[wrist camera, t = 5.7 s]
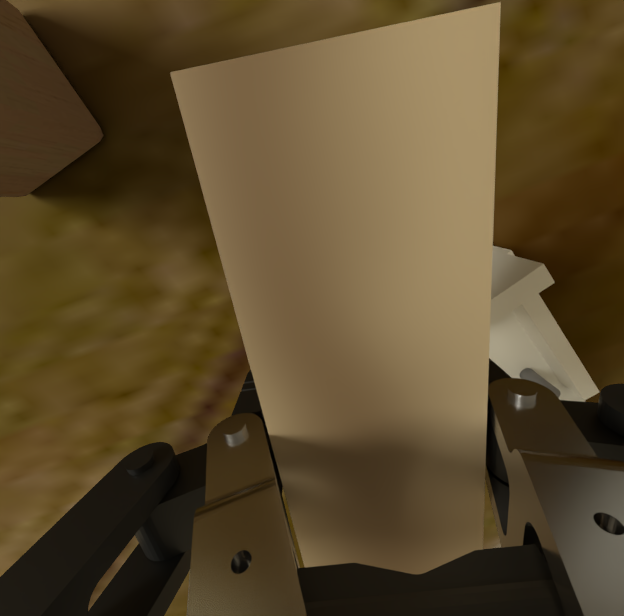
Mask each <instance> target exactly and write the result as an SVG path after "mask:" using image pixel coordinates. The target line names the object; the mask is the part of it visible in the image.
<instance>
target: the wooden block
mask: <svg viewBox="0 0 624 616" xmlns="http://www.w3.org/2000/svg"><path fill="white" fill-rule="evenodd" d="M102 137H103V133H102V130H101V128H100V126H99V125H98V123H97V122H96V120H95V119H94V118H93V116H92V115H91V113H90V112H89V110H88V109H87V108H86V106H85V105H84V103H83V102H82V100H81V99H80V97H79V96H78V95H77V93H76V92H75V90H74V89H73V87H72V86H71V85H70V83H69V82H68V80H67V79H66V77H65V76H64V74H63V73H62V72H61V70H60V69H59V67H58V66H57V64H56V63H55V62H54V60H53V59H52V57H51V56H50V54H49V53H48V51H47V50H46V49H45V47H44V46H43V44H42V43H41V41H40V40H39V39H38V37H37V36H36V34H35V33H34V31H33V30H32V28H31V27H30V26H29V24H28V23H27V21H26V20H25V18H24V17H23V16H22V14H21V13H20V12H19V10H18V9H17V8H15V7H14V6H13V5H12V4H10V3H9V2H8V1H6V0H0V197H19V196H26V195H28V194H29V193H31V192H32V191H33V190H35V189H36V188H38V187H39V186H40V185H42V184H43V183H44V182H46V181H47V180H48V179H50V178H51V177H52V176H54V175H55V174H57V173H58V172H59V171H61V170H62V169H63V168H65V167H66V166H67V165H69V164H70V163H71V162H73V161H74V160H76V159H77V158H78V157H80V156H81V155H82V154H84V153H85V152H86V151H88V150H89V149H91V148H92V147H93V146H95V145H96V144H97V143H99V142H100V141H101V139H102Z"/></svg>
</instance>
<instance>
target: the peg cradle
mask: <svg viewBox="0 0 624 616" xmlns="http://www.w3.org/2000/svg"><path fill="white" fill-rule="evenodd" d="M553 283H555V282H554V280H553V278H552V277H551V275H550V273H549V272H548V270H547V268H546V267H545V265H544V264H543V263H539V262H535V261H532V260H528V259H524V258H520V257H517V256H515V255H514V253H513V252H512V250H509V249H504V248H500V247H496V246H493V251H492V282H491V312H490V343H489V358H490V359H491V360H492V361H493V362H494V363H496V364H497V365H498V366H499V367H500V368H501V369H502V370H504V371H505V372H506V373H507V374H508V375H509V376H510V377H511V378H520V379H526V380H530V381H533V382H536V383H539V384H541V385H543V386H545V387H547V388H548V389H550V390H551V391H553V392H554V393H555V394H556V396H557V397H558V398H559V400H566V401H580V402H586V401H585V400H587V399H588V398H590V397H592V396H594V395H596V394H597V393H599V390H598V388H597V387H596V385H595V384H594V382H593V380H592V379H591V377H590V375H589V374H588V372H587V371H586V369H585V367H584V366H583V364H582V363H581V361H580V359H579V358H578V356H577V355H576V353H575V351H574V350H573V348H572V347H571V345H570V343H569V342H568V340H567V339H566V337H565V335H564V334H563V332H562V331H561V329H560V327H559V326H558V324H557V322H556V321H555V319H554V318H553V316H552V314H551V313H550V311H549V310H548V308H547V306H546V305H545V303H544V302H543V300H542V298H541V297H540V295H539V294H538V293H540V292H541V291H543V290H544V289H546V288H547V287H549V286H550V285H552V284H553Z"/></svg>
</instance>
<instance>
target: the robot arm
mask: <svg viewBox="0 0 624 616" xmlns="http://www.w3.org/2000/svg"><path fill="white" fill-rule="evenodd" d="M485 480H486V484H487V488H488V493H489V497H490V501H491V505H492V509H493V514H494V518H495V522H496V526H497V531H498V535H499V539H500V543H501V548H492V549H483V550H474V551H472V552H470V553H468V554H465V555H463V556H461V557H459V558H457V559H454V560H452V561H450V562H448V563H446V564H443V565H441V566H439V567H437V568H435V569H432V570H430V571H428V572H426V573H423V574H410V573H405V572H400V571H395V570H390V569H384V568H379V567H374V566H369V565H364V564H359V563H345V564H335V565H325V566H315V567H306V568H300V567H299V563H298V558H297V554H296V550H295V546H294V542H293V538H292V534H291V530H290V526H289V522H288V518H287V513H286V509H285V505H284V501H283V497H282V488H283V485H282V482H281V478H280V474H279V471H278V467H277V463H276V460H275V456H274V452H273V449H272V445H271V441H270V438H269V434H268V430H267V427H266V423H265V419H264V416H263V412H262V408H261V405H260V401H259V397H258V394H257V390H256V386H255V383H254V379H253V375H252V372H251V370H250V371H249V372H248V374H247V377H246V379H245V384H243V387H242V392H240V395H239V397H238V400H237V403H236V405H235V408H234V410H233V413H232V416H230V417H228V418H226V419H224V420H223V421H221V422H220V423H218V424H217V425H216V426H215V427H214V428H213V429H212V431H211V432H210V434H209V436H208V439H207V443H206V444H204V445H202V446H200V447H197V448H194V449H192V450H189V451H186V452H183V453H181V454H178V455H175V453H174V450H173V448H172V446H171V445H170V444H168V443H164V442H157V443H152V444H148V445H145V446H143V447H141V448H139V449H137V450H135V451H133V452H132V453H130V454H129V455H127V456H126V457H125V458H123V459H122V460H121V461H120V462H119V463H118V464H117V465H116V466H115V467H114V468H113V469H112V470H111V471H110V472H109V473H108V474H107V475H106V476H104V477H103V478H102V479H101V480H100V481H99V482H98V483H97V484H96V485H95V486H94V487H93V488H92V489H91V490H90V491H89V492H88V493H87V494H86V495H85V496H84V497H83V498H82V499H81V500H80V501H79V502H78V503H77V504H75V505H74V506H73V507H72V508H71V509H70V510H69V511H68V512H67V513H66V514H65V515H64V516H63V517H62V518H61V519H60V520H59V521H58V522H57V523H56V524H55V525H54V526H53V527H52V528H51V529H50V530H49V531H48V532H46V533H45V534H44V535H43V536H42V537H41V538H40V539H39V540H38V541H37V542H36V543H35V544H34V545H33V546H32V547H31V548H30V549H29V550H28V551H27V552H26V553H25V554H24V555H23V556H22V557H21V558H20V559H19V560H17V561H16V562H15V563H14V564H13V565H12V566H11V567H10V568H9V569H8V570H7V571H6V572H5V573H4V574H3V575H2V576H1V577H0V616H164V615H165V613H166V611H167V609H168V608H169V606H170V604H171V602H172V600H173V599H174V597H175V595H176V593H177V591H178V590H179V588H180V586H181V584H182V583H183V581H184V579H185V577H186V575H187V574H188V572H189V570H190V579H189V593H188V607H187V616H624V384H613V385H609V386H606V387H604V388H603V389H602V390H601V393H600V398H599V403H594V402H580V401H566V400H559V398H558V397H557V396H556V394H555V393H554V392H553V391H551V390H550V389H548V388H547V387H545V386H543V385H541V384H539V383H536V382H533V381H530V380H526V379H520V378H511V377H510V376H509V375H508V374H507V373H506V372H505V371H504V370H502V369H501V368H500V367H499V366H498V365H497V364H496V363H494V362H493V361H492V360H491V359H490V358H489V373H488V404H487V435H486V465H485ZM134 535H135V536H136V538H137V540H138V542H139V544H138V545H137V547H136V548H135V549H134V551H133V552H132V553H131V555H130V556H129V557H128V559H127V560H126V562H125V563H124V564H123V566H122V567H121V568H120V570H119V571H118V572H117V574H116V575H115V576H114V578H113V579H112V580H111V582H110V583H109V584H108V586H107V587H106V588H105V590H104V591H103V592H102V594H101V595H100V596H99V598H98V599H97V601H96V602H95V603H94V605H93V606H92V607H91V609H90V610H89V611H88V605H89V601H90V597H91V595H92V592H93V590H94V588H95V587H96V585H97V583H98V582H99V580H100V579H101V578H102V576H103V575H104V574H105V572H106V571H107V570H108V569H109V567H110V566H111V565H112V563H113V562H114V561H115V560H116V558H117V557H118V556H119V554H120V553H121V552H122V550H123V549H124V548H125V547H126V545H127V544H128V543H129V541H130V540H131V539H132V538H133V536H134Z"/></svg>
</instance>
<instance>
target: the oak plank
mask: <svg viewBox="0 0 624 616" xmlns="http://www.w3.org/2000/svg"><path fill="white" fill-rule="evenodd" d="M500 7H501V2H499V3H494V4H489V5H484V6H480V7H475V8H470V9H466V10H461V11H456V12H451V13H447V14H442V15H437V16H433V17H428V18H423V19H419V20H414V21H409V22H404V23H400V24H395V25H390V26H386V27H381V28H376V29H371V30H367V31H362V32H357V33H353V34H348V35H343V36H339V37H334V38H329V39H324V40H320V41H315V42H310V43H306V44H301V45H296V46H291V47H287V48H282V49H277V50H273V51H268V52H263V53H258V54H254V55H249V56H244V57H240V58H235V59H230V60H226V61H221V62H216V63H211V64H207V65H202V66H197V67H193V68H188V69H183V70H178V71H174V72H170V75H171V78H172V82H173V86H174V89H175V93H176V97H177V100H178V104H179V108H180V111H181V115H182V119H183V122H184V126H185V130H186V133H187V137H188V141H189V144H190V148H191V152H192V155H193V159H194V163H195V166H196V170H197V174H198V177H199V181H200V185H201V188H202V192H203V196H204V199H205V203H206V207H207V210H208V214H209V218H210V221H211V225H212V229H213V232H214V236H215V240H216V243H217V247H218V251H219V254H220V258H221V262H222V265H223V269H224V273H225V276H226V280H227V284H228V287H229V291H230V295H231V298H232V302H233V306H234V309H235V313H236V317H237V320H238V324H239V328H240V331H241V335H242V339H243V342H244V346H245V350H246V353H247V357H248V361H249V364H250V368H251V372H252V375H253V379H254V383H255V386H256V390H257V394H258V397H259V401H260V405H261V408H262V412H263V416H264V419H265V423H266V427H267V430H268V434H269V438H270V441H271V445H272V449H273V452H274V456H275V460H276V463H277V467H278V471H279V474H280V478H281V482H282V485H283V489H284V493H285V496H286V500H287V504H288V507H289V511H290V515H291V518H292V522H293V526H294V529H295V533H296V537H297V540H298V544H299V548H300V551H301V555H302V559H303V562H304V566H305V568H306V567H315V566H325V565H335V564H345V563H359V564H364V565H369V566H374V567H379V568H384V569H390V570H395V571H400V572H405V573H410V574H423V573H426V572H428V571H430V570H432V569H435V568H437V567H439V566H441V565H443V564H446V563H448V562H450V561H452V560H454V559H457V558H459V557H461V556H463V555H465V554H468V553H470V552H472V551H474V550H483V526H484V496H485V465H486V435H487V404H488V373H489V343H490V312H491V282H492V251H493V221H494V190H495V160H496V129H497V99H498V68H499V38H500Z"/></svg>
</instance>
